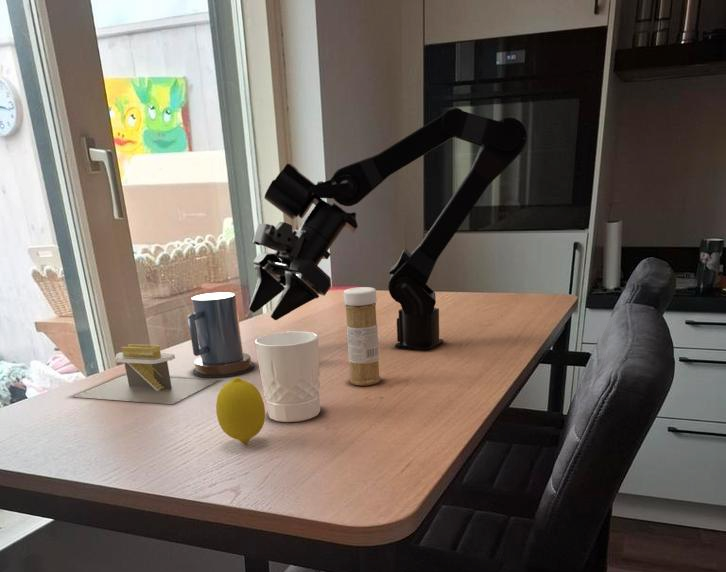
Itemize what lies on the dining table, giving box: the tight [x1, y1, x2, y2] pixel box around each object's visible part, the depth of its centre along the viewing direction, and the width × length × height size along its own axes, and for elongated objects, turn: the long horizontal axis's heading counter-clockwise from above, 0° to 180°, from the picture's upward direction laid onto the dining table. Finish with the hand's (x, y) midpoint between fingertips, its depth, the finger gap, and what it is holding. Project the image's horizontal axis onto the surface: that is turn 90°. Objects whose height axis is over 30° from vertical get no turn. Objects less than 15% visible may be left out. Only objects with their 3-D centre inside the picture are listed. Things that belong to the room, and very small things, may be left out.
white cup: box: [254, 330, 321, 423], centre depth 89 cm, size 8×8×10 cm
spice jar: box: [343, 286, 381, 386], centre depth 100 cm, size 5×5×13 cm
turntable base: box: [192, 361, 256, 379], centre depth 115 cm, size 10×10×1 cm
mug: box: [187, 292, 252, 375], centre depth 111 cm, size 11×9×12 cm
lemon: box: [215, 376, 266, 444], centre depth 81 cm, size 6×6×8 cm
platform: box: [72, 343, 218, 405], centre depth 105 cm, size 12×18×7 cm, turn 68°
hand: (261, 314), depth 115 cm, fingers open, 9 cm apart
